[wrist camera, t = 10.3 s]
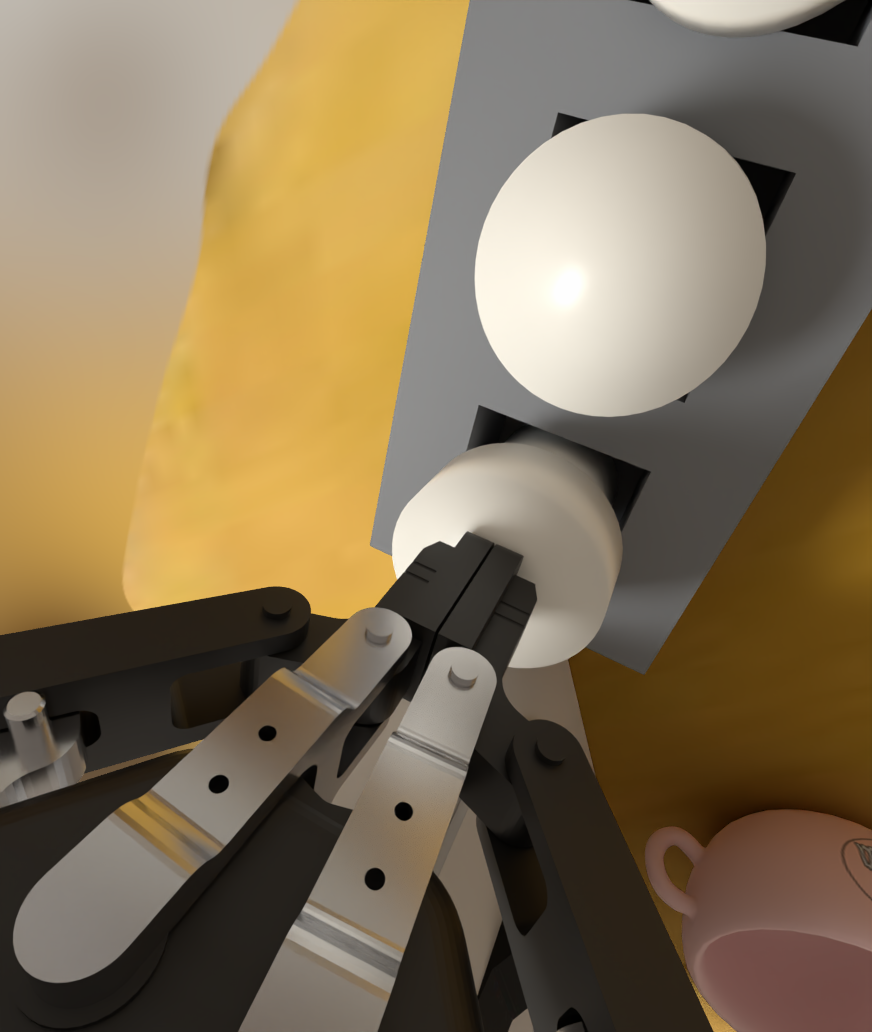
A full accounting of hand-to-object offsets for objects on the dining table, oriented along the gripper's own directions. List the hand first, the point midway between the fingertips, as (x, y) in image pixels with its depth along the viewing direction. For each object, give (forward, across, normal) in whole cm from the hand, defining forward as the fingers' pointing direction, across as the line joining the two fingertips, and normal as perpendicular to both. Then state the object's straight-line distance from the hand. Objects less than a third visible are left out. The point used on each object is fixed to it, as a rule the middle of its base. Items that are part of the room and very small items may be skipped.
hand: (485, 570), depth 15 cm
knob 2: (+6, 0, 0) cm, 6 cm away
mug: (+9, -15, +14) cm, 23 cm away
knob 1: (+7, 0, -7) cm, 10 cm away
